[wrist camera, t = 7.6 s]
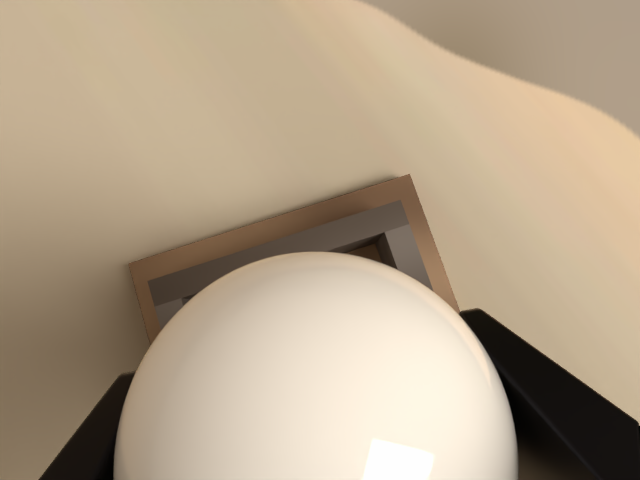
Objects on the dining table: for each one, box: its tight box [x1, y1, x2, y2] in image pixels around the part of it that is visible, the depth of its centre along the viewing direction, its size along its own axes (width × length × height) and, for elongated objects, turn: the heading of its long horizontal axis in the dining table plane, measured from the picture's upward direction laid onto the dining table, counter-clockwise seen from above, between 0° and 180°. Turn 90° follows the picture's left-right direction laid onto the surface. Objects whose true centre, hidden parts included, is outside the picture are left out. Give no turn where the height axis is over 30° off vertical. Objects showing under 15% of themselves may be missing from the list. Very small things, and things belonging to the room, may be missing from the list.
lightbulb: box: [113, 251, 519, 480], centre depth 11 cm, size 6×6×11 cm
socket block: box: [129, 174, 460, 345], centre depth 20 cm, size 13×13×4 cm
